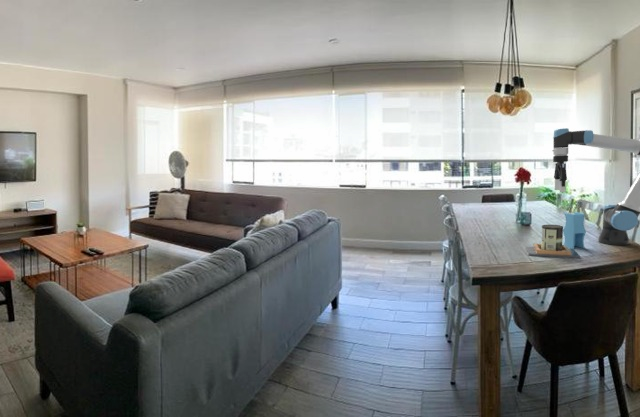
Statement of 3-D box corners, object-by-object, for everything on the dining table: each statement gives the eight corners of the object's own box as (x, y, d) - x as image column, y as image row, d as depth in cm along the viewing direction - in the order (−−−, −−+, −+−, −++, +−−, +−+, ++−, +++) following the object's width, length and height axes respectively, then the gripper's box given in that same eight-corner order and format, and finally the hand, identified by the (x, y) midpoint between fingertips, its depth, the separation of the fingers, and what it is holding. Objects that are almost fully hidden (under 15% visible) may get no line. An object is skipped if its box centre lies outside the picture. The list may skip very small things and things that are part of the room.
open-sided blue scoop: (574, 245, 238) (575, 212, 235) (584, 247, 230) (586, 213, 227) (562, 246, 236) (564, 212, 234) (572, 248, 229) (574, 214, 226)
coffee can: (557, 248, 225) (559, 224, 223) (565, 253, 215) (566, 227, 213) (538, 248, 227) (539, 224, 225) (544, 253, 217) (545, 227, 215)
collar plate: (573, 250, 224) (573, 245, 224) (579, 258, 209) (580, 252, 208) (525, 248, 233) (525, 243, 233) (528, 255, 218) (528, 249, 217)
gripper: (548, 155, 247) (548, 189, 249) (558, 155, 224) (557, 193, 226) (562, 154, 244) (562, 189, 247) (573, 155, 221) (572, 192, 224)
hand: (559, 191), depth 237 cm, fingers open, 13 cm apart
